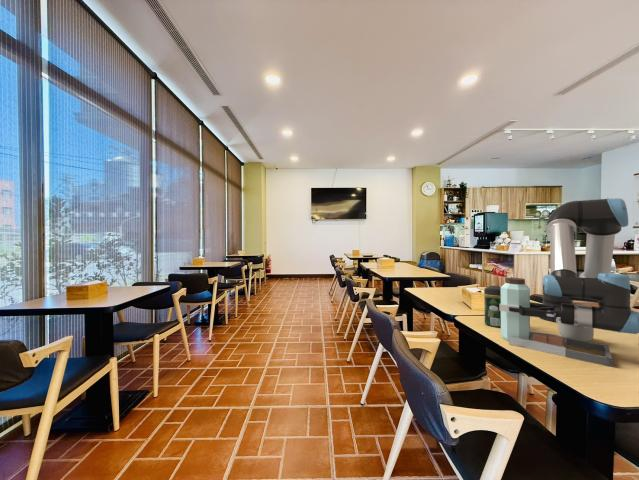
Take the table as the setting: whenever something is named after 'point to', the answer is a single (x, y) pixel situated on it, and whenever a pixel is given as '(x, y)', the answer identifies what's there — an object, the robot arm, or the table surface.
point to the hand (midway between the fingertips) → (502, 305)
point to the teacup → (575, 331)
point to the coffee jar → (492, 306)
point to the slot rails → (539, 344)
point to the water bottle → (515, 295)
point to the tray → (587, 356)
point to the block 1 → (540, 337)
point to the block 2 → (555, 340)
